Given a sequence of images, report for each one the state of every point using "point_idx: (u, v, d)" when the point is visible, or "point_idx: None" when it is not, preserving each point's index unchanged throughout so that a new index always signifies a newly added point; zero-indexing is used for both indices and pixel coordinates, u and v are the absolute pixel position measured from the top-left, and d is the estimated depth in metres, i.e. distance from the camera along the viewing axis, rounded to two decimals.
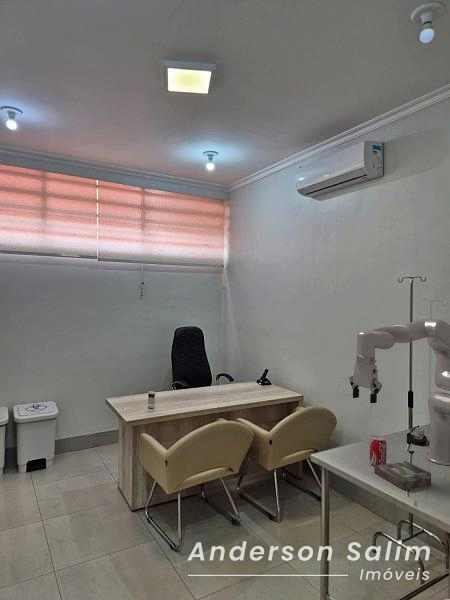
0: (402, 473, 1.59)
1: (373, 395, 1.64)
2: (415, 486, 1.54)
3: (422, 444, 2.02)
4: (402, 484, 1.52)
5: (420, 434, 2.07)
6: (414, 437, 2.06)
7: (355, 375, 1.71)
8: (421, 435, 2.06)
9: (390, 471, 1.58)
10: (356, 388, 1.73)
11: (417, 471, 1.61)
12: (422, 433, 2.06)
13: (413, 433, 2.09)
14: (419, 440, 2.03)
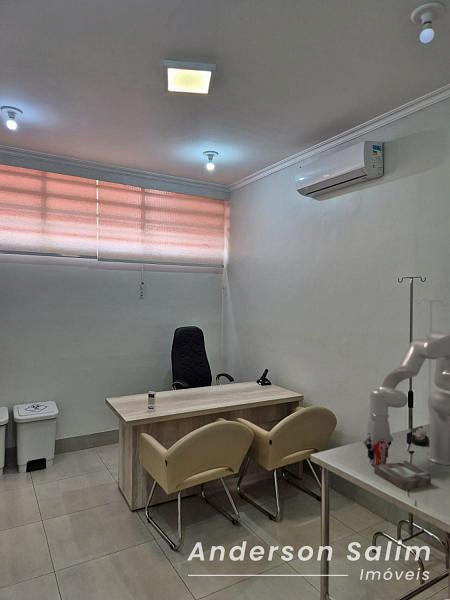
0: (402, 473, 1.59)
1: (387, 449, 1.77)
2: (415, 486, 1.54)
3: (423, 444, 2.01)
4: (402, 484, 1.52)
5: (422, 435, 2.06)
6: (415, 437, 2.05)
7: (376, 435, 1.73)
8: (423, 436, 2.05)
9: (390, 471, 1.58)
10: None
11: (417, 471, 1.61)
12: (424, 434, 2.05)
13: (415, 433, 2.08)
14: (420, 440, 2.02)
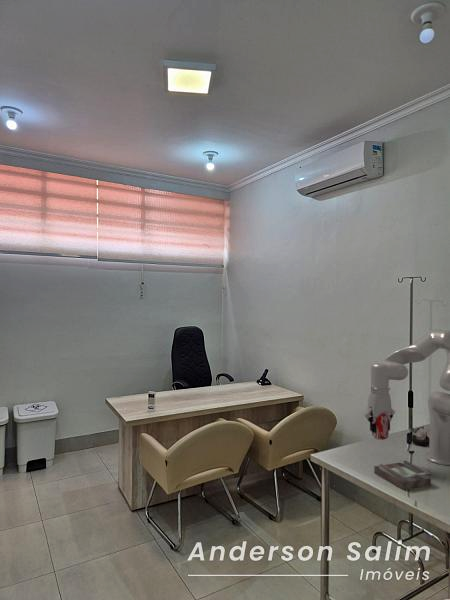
0: (402, 473, 1.59)
1: (389, 422, 1.77)
2: (415, 486, 1.54)
3: (423, 445, 2.01)
4: (402, 484, 1.52)
5: (423, 435, 2.05)
6: (416, 438, 2.05)
7: (377, 408, 1.73)
8: (423, 436, 2.05)
9: (390, 471, 1.58)
10: None
11: (417, 471, 1.61)
12: (425, 434, 2.05)
13: (416, 434, 2.08)
14: (420, 441, 2.02)
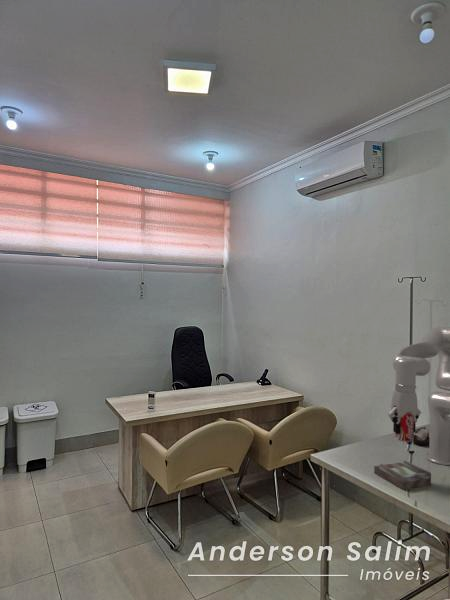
0: (402, 473, 1.59)
1: None
2: (415, 486, 1.54)
3: (424, 445, 2.01)
4: (402, 484, 1.52)
5: (424, 435, 2.05)
6: (417, 438, 2.05)
7: (402, 407, 1.58)
8: (424, 436, 2.04)
9: (390, 471, 1.58)
10: None
11: (417, 471, 1.61)
12: (426, 434, 2.04)
13: (417, 434, 2.08)
14: (421, 441, 2.02)
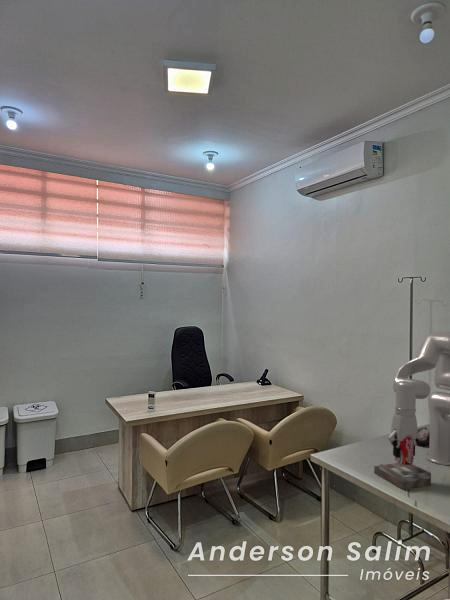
0: (402, 473, 1.59)
1: (414, 447, 1.61)
2: (415, 486, 1.54)
3: (424, 445, 2.00)
4: (402, 484, 1.52)
5: (424, 436, 2.04)
6: None
7: (402, 431, 1.57)
8: (425, 437, 2.04)
9: (390, 471, 1.58)
10: None
11: (417, 471, 1.61)
12: (426, 435, 2.04)
13: None
14: (421, 441, 2.01)
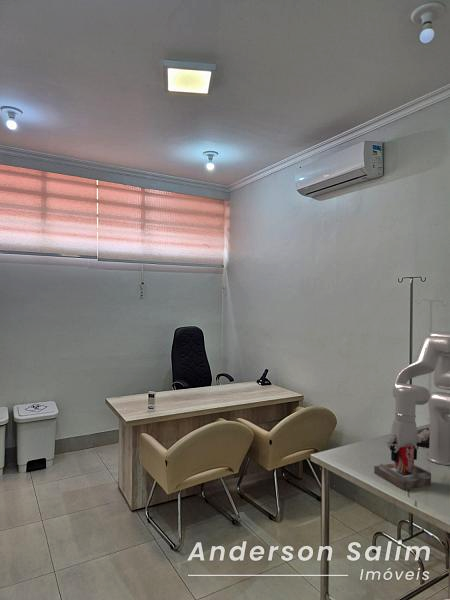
0: None
1: None
2: (415, 486, 1.54)
3: (424, 446, 2.00)
4: (402, 484, 1.52)
5: (425, 436, 2.04)
6: None
7: (402, 437, 1.57)
8: (426, 437, 2.03)
9: (390, 471, 1.58)
10: None
11: (417, 471, 1.61)
12: (427, 435, 2.03)
13: (419, 435, 2.07)
14: (421, 441, 2.01)
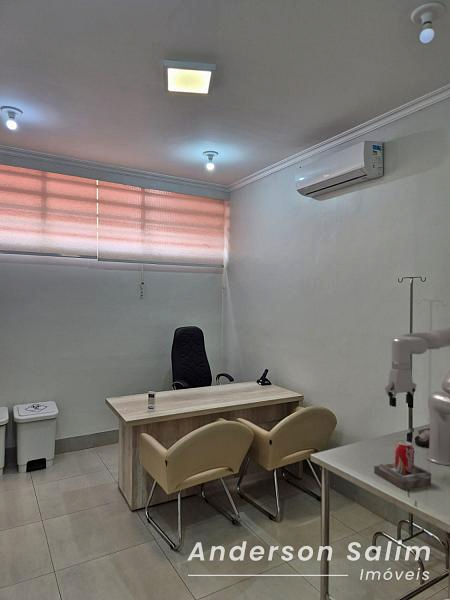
0: None
1: None
2: (415, 486, 1.54)
3: (424, 446, 1.99)
4: (402, 484, 1.52)
5: (426, 436, 2.03)
6: (419, 439, 2.04)
7: (399, 383, 1.70)
8: (427, 437, 2.02)
9: (390, 471, 1.58)
10: None
11: (417, 471, 1.61)
12: (428, 435, 2.02)
13: (420, 435, 2.06)
14: (422, 442, 2.01)
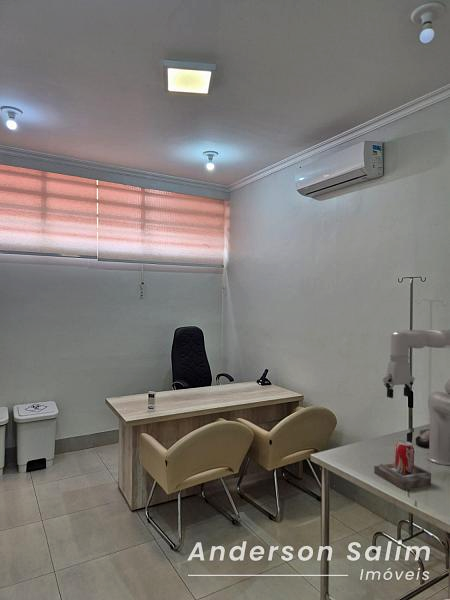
0: None
1: None
2: (415, 486, 1.54)
3: (425, 446, 1.99)
4: (402, 484, 1.52)
5: (427, 437, 2.02)
6: (419, 439, 2.03)
7: (397, 375, 1.74)
8: (427, 438, 2.02)
9: (390, 471, 1.58)
10: None
11: (417, 471, 1.61)
12: (429, 436, 2.02)
13: (421, 435, 2.06)
14: (422, 442, 2.00)
